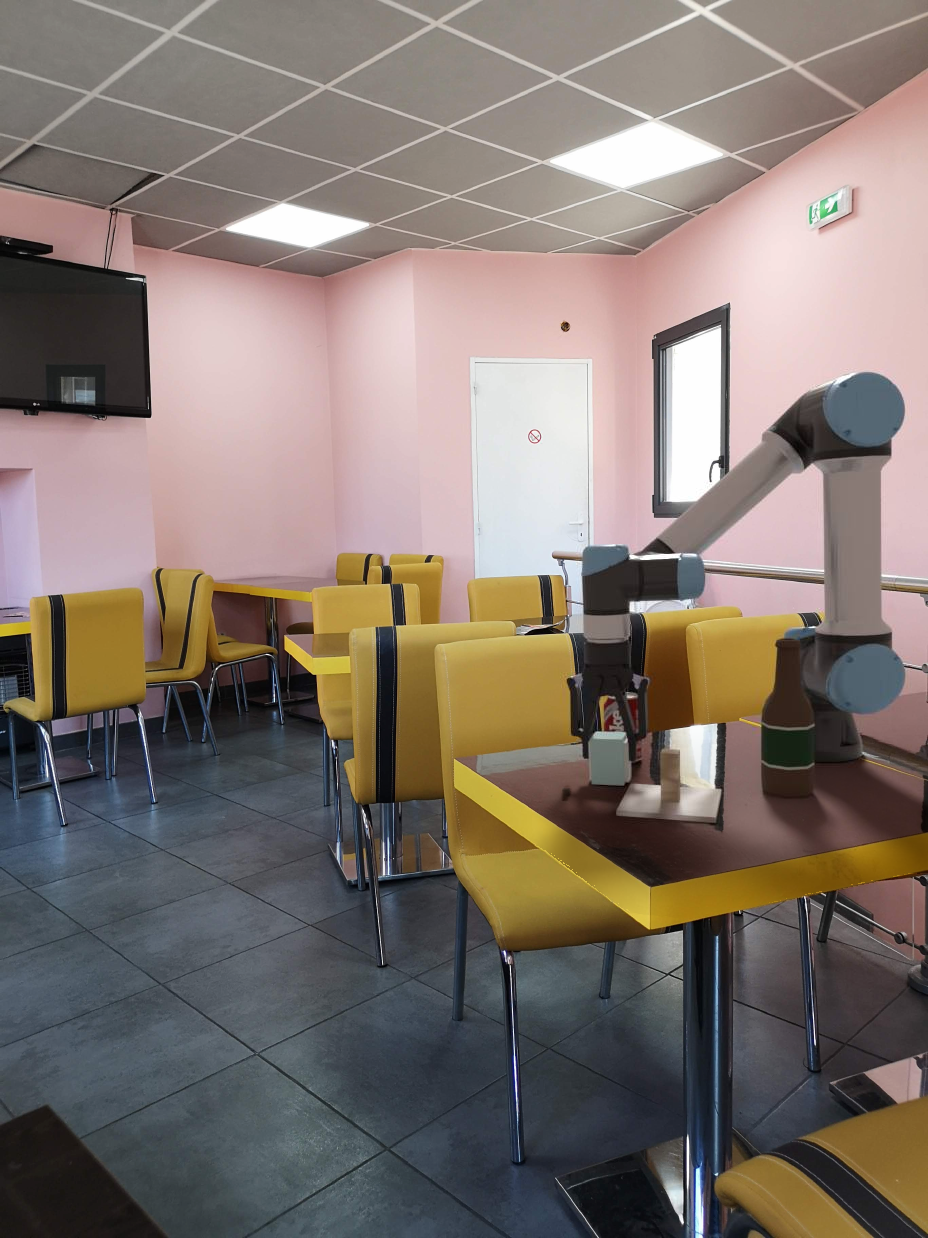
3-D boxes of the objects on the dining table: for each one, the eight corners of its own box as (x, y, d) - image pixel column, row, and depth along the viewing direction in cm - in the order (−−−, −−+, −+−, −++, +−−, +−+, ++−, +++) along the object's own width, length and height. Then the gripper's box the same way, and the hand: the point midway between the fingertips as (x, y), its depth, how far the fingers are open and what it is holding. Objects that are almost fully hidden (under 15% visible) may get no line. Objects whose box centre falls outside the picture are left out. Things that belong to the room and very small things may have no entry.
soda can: (640, 756, 164) (639, 691, 163) (644, 765, 157) (643, 698, 156) (603, 756, 165) (602, 691, 164) (605, 765, 158) (604, 698, 157)
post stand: (721, 794, 139) (721, 742, 139) (715, 823, 126) (715, 766, 125) (631, 788, 144) (630, 738, 143) (616, 815, 131) (615, 760, 130)
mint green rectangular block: (628, 777, 150) (627, 732, 149) (623, 785, 145) (622, 739, 144) (597, 775, 151) (596, 731, 151) (591, 784, 147) (590, 738, 146)
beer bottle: (813, 786, 142) (814, 636, 140) (815, 800, 135) (816, 642, 132) (761, 783, 145) (761, 635, 142) (760, 797, 137) (760, 642, 135)
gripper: (666, 636, 146) (668, 775, 149) (558, 636, 152) (562, 770, 155) (660, 642, 139) (663, 788, 142) (547, 642, 145) (551, 782, 148)
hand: (610, 778), depth 148 cm, fingers closed on mint green rectangular block, 5 cm apart
